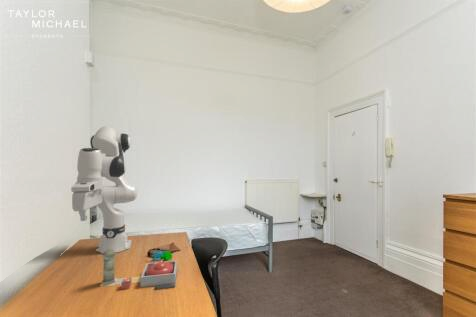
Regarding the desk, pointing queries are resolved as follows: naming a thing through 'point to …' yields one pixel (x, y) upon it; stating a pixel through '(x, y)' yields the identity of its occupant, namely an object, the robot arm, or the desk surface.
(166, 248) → the sunglasses case
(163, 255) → the stick construction toy
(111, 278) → the pawn
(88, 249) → the desk surface
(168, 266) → the dome
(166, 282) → the game board
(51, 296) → the desk surface
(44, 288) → the desk surface
